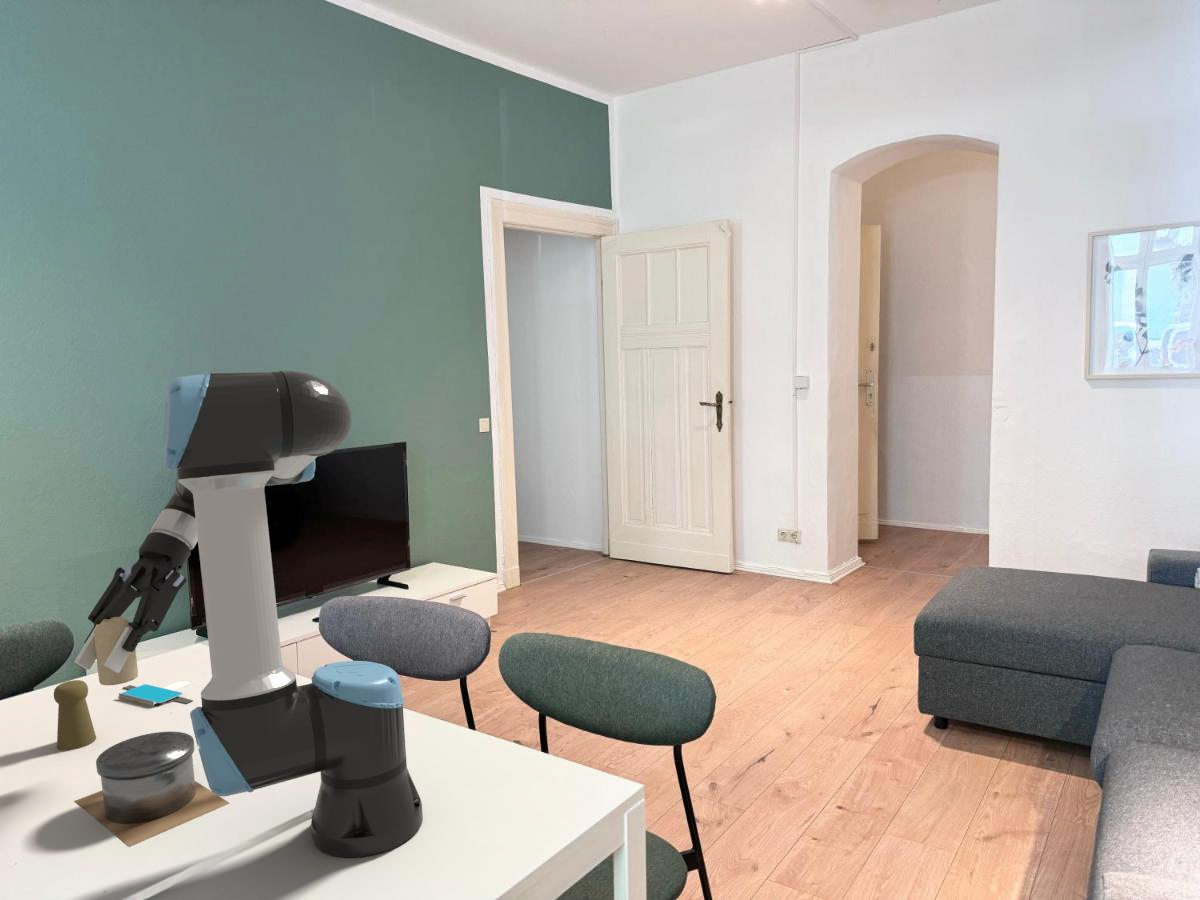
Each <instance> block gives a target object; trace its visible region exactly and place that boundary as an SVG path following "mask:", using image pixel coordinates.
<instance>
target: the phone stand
mask: <svg viewBox="0 0 1200 900" xmlns="http://www.w3.org/2000/svg"><path fill="white" fill-rule="evenodd" d="M193 684H194V683H193V682H190V681H184V680H179V681H177V682H174V683H171V684H169V685H167V686H164V687H159V686H155V685H151V684H148V683H147V684H142V685H138V686H135V685H131V684H129V685H127V686H123V687H122V689H125V690H126V689H127V690H126V691H123V692H121V693H120V692H119V693H118V696H117V697H118V698H119V700H123V701H127V702H130V703H131V702H132V703H134V704H138V705H142V706H146V707H150V708H155V704H156V705H157V704H159V705H157V706H156V708H158V707H160V706H162V705H165V704H167V703H168V704H169V703H172V702H178V703H184V704H188V703H190V702H193V701H194V700H193V699H190V698H187V697H183V696H182V695H183V692H181V691H179V690H182V689H184V688H187V687H189V686H192V685H193Z"/></svg>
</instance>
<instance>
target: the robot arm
mask: <svg viewBox="0 0 1200 900" xmlns="http://www.w3.org/2000/svg"><path fill="white" fill-rule="evenodd" d="M163 417H164V418H163V434H162V435H163V441H162V444H163V445H162V446H163V459H162V460H163V465H164V467H165V468H167V469H171V470H175V473H176V474H175V483H174V484H175V486H174V487H175V488H174V491H173V493H172V494H171V496H170V498H169V499H168V501H167V503H166V505H165V507H164V508H163V509H162V511H161V512H160V513H159V515H158V517H157V519H156V520H155V522H154V523H153V525H152V527H151V529H150V533H148V534H147V535H146V537H145V538H144V540H143V542H142V543H141V544H140V546H139V548H138V558H139V559H138V560H137V561H136V562H135V563H134V564H133V565H132V566H131V567H130V568H126V569H123V568H122V567H121V566H120V567H117V568H116V570H115V571H114V575H113V577H112V580H111V581H110V582H109V585H108V586H107V587H106V589H105V590H104V592H103V593H102V595H101V596H100V598H99V599H98V601H97V602H96V604H95V605H94V607H93V609H92V611H90V613H89V615H88V617H87V620H89V622H91V623H93V627H92V629H90V632H89V634H88V635H87V637H86V639H85V641H84V645H83V647H82V648H81V649H80V651H79V652H78V654H77V656H76V658H75V660H74V661H73V662H74V663H75V664H76V665H78V666H79V667H81V668H84V670H91V669H92V666H93V665H94V664H95V662H96V661H97V658H96V649H95V639H94V630H95V629H96V628H97V627H98V625H99V624H100V623H101V622H102V621H103V620H104V619H111V618H113V617H122V615H123V614H124V613H125V612H126V611H127V609H128V608H129V607H130V606H131V604H133V602H134V601H135V600H136V599H137V598H140V600H139V602H138V606H137V607H136V612H135V615H134V617H133V620H132V621H129V622H130V623H128V625H129V626H131V627H132V628H133V629H131V628H129V627H126V628H125V630H124V631H123V633H122V635H121V636H120V638H119V640H118V641H117V643H116V645H115V647H114V648H113V650H112V652H111V653H110V655H109V657H108V658H107V660H106V662H105V664H104V666H105V667H107V668H108V669H110V670H112V671H113V672H115V673H119V672H120V671H121V669H122V667H123V665H124V664H125V662H126V660H127V658H128V657H129V655H130V653H131V652H133V651H134V650H135V649H136V648H137V646H138V644H139V642H140V641H141V639H142V638H143V636H145V635H146V634H147V633H148V632H153V633H155V632H157V631H159V629H160V627H161V625H162V622H163V621H164V619H165V617H166V616H167V614H168V611H169V609H170V608H171V606H172V604H173V602H174V600H175V598H176V596H177V595H178V594H179V593H178V592H179V591H180V589H181V588H182V587H183V586H184V585H185V583H187V577H185V576H184V575H182V574H181V573H180V572H179V571H181V570H183V568H184V567H185V564H186V563H187V561H188V559H189V557H190V556H191V554H192V553H191V552H192V550H193V549H194V548H195V547H196V545H197V544H198V554H199V562H200V563H199V564H200V574H201V580H202V581H201V582H202V583H201V584H202V592H203V593H202V594H203V601H204V602H203V603H204V610H205V611H204V613H205V621H206V630H207V639H208V650H209V659H210V661H209V662H210V668H211V678H210V681H209V682H208V683H207V684H206V685H205V686H204V688H203V689H202V690H201V691H200V699H201V706H197V707H195V708H194V709H192V710H191V711H190V712H189V718H190V719H191V725H192V729H193V733H194V739H195V742H196V746H197V749H198V753H199V756H200V761H201V764H202V768H203V770H204V774H205V778H206V781H207V784H208V787H209V790H210V791H212V792H213V793H214V794H216V795H218V796H220V797H229V796H234V795H238V794H242V793H247V792H248V793H253V792H254V791H255V790H258V789H262V788H266V787H270V786H273V785H276V784H281V783H285V782H287V781H292V780H295V779H298V778H302V777H307V776H310V775H313V774H316V773H320V786H319V789H318V793H317V798H316V801H315V806H314V810H313V811H314V812H313V814H312V817H311V822H310V823H311V824H310V829H311V837H312V839H311V840H312V843H313V844H314V846H315V847H316V849H318V850H319V851H321V852H323V853H324V854H328V855H331V856H335V857H339V858H340V857H342V858H358V857H360V858H361V857H366V856H372V855H376V854H380V853H383V852H386V851H389V850H392V849H394V848H396V847H398V846H400V845H402V844H404V843H406V842H407V841H408V840H410V839H411V838H412V837H413V836H415V835H416V833H418V831H419V830H420V828H421V827H422V824H423V821H424V820H423V819H424V818H423V817H424V815H423V803H422V799H421V797H420V795H419V792H418V790H417V787H416V786H415V783H414V780H413V778H412V776H411V774H410V772H409V769H408V764H407V763H408V762H407V749H406V748H407V746H406V733H405V719H404V718H405V717H404V705H405V700H404V696H403V691H402V690H403V689H402V684H401V680H400V677H399V674H398V673H397V672H396V671H395V669H393V668H391V667H390V666H387V665H385V664H383V663H382V664H381V663H380V662H379V663H378V662H373V661H365V660H344V661H343V660H342V661H336V662H335V661H334V662H331V663H327V664H325V665H324V666H320V667H318V668H316V670H315V671H314V672H313V675H312V677H311V682H310V683H307V684H303V685H298V683H297V677H296V676H297V675H296V673H294V672H293V671H291V670H290V669H289V668H287V667H286V666H285V665H284V664H283V657H282V649H281V648H282V647H281V640H280V639H281V638H280V628H279V618H278V617H279V616H278V610H277V609H278V608H277V601H276V600H277V599H276V588H275V581H274V580H275V579H274V573H273V572H274V569H273V561H272V552H271V541H270V534H269V533H270V531H269V524H268V513H267V503H266V494H265V487H267V486H277V485H279V486H280V485H288V484H291V485H295V484H298V483H299V484H300V483H304V482H309V481H311V480H312V479H314V477H315V472H316V459H317V457H321V456H326V455H328V454H330V453H332V452H334V451H335V450H336V449H338V448H339V447H340V446H342V444H343V443H344V441H346V439H347V437H348V435H349V433H350V431H351V427H352V412H351V408H350V405H349V403H348V402H347V400H346V398H345V397H344V395H343V394H342V392H340V391H339V389H337V388H336V387H335V386H334V385H333V384H331V383H330V382H328V381H326V380H325V379H323V378H321V377H318V376H317V375H314V374H310V373H308V372H307V373H306V372H303V371H294V370H279V371H260V372H258V371H257V372H256V371H255V372H254V371H253V372H250V371H249V372H216V373H213V372H211V373H210V372H209V373H204V374H203V373H202V374H193V375H188V376H187V375H186V376H179V377H176V378H174V379H173V380H172V381H171V382H170V383H169V385H168V386H167V391H166V395H165V405H164V416H163Z"/></svg>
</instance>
